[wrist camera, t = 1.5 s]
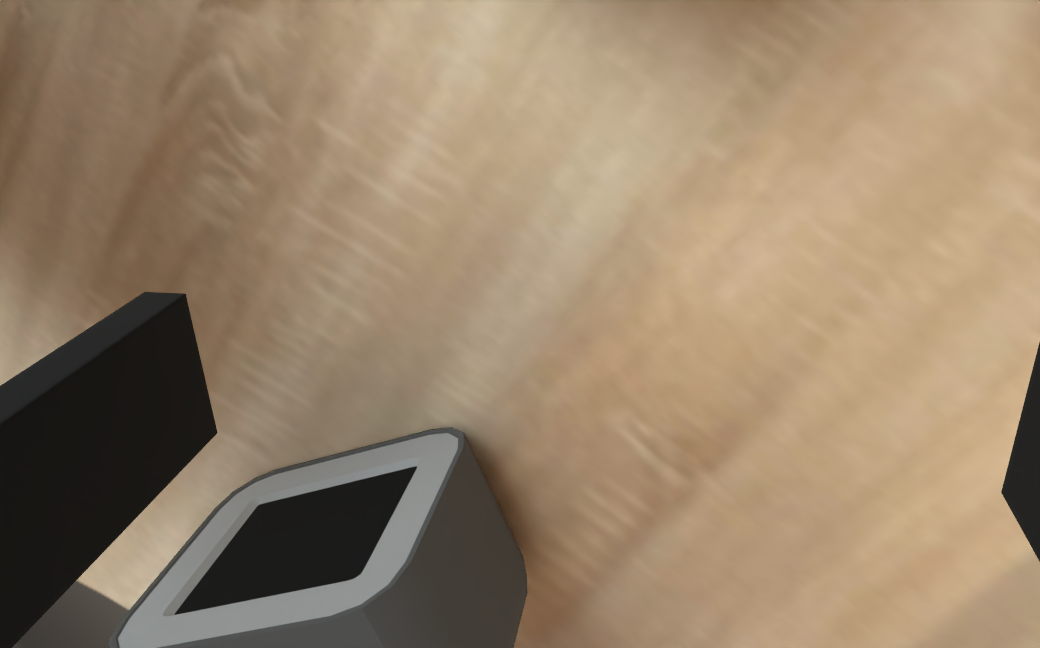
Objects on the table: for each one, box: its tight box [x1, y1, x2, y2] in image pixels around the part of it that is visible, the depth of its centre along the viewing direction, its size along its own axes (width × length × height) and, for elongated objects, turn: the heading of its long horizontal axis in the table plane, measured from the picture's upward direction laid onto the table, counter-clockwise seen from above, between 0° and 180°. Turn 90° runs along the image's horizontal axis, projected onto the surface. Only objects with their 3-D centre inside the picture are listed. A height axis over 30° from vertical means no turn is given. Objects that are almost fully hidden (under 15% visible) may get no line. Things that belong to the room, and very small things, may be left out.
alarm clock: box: [109, 427, 527, 648], centre depth 43 cm, size 16×11×16 cm
